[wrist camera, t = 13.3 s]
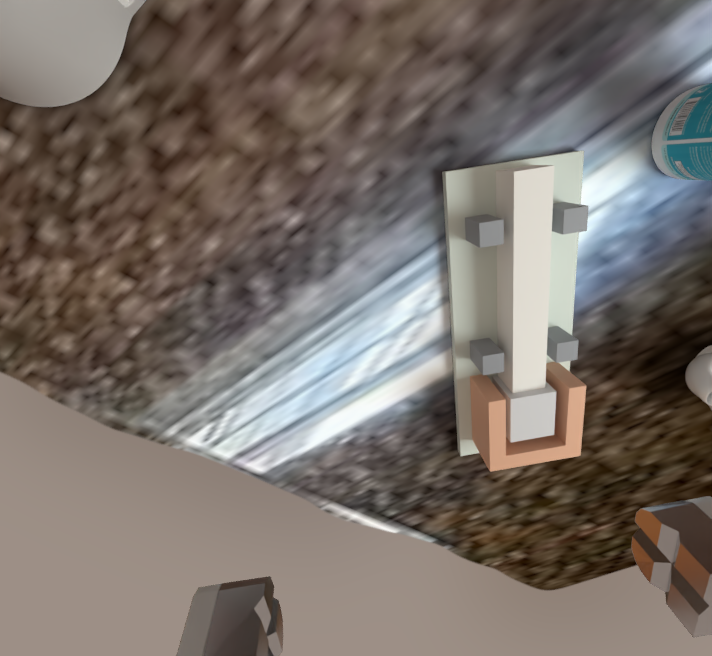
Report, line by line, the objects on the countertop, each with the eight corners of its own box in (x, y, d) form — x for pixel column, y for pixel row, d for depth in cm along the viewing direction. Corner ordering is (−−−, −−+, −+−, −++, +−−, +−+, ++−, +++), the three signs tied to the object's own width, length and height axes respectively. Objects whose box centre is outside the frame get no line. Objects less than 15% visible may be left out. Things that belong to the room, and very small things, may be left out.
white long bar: (489, 171, 35) (511, 173, 31) (539, 163, 35) (568, 164, 31) (492, 416, 45) (510, 442, 41) (532, 410, 45) (554, 434, 41)
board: (442, 171, 36) (465, 174, 30) (577, 150, 36) (624, 149, 31) (457, 450, 47) (476, 488, 42) (560, 432, 48) (592, 468, 42)
